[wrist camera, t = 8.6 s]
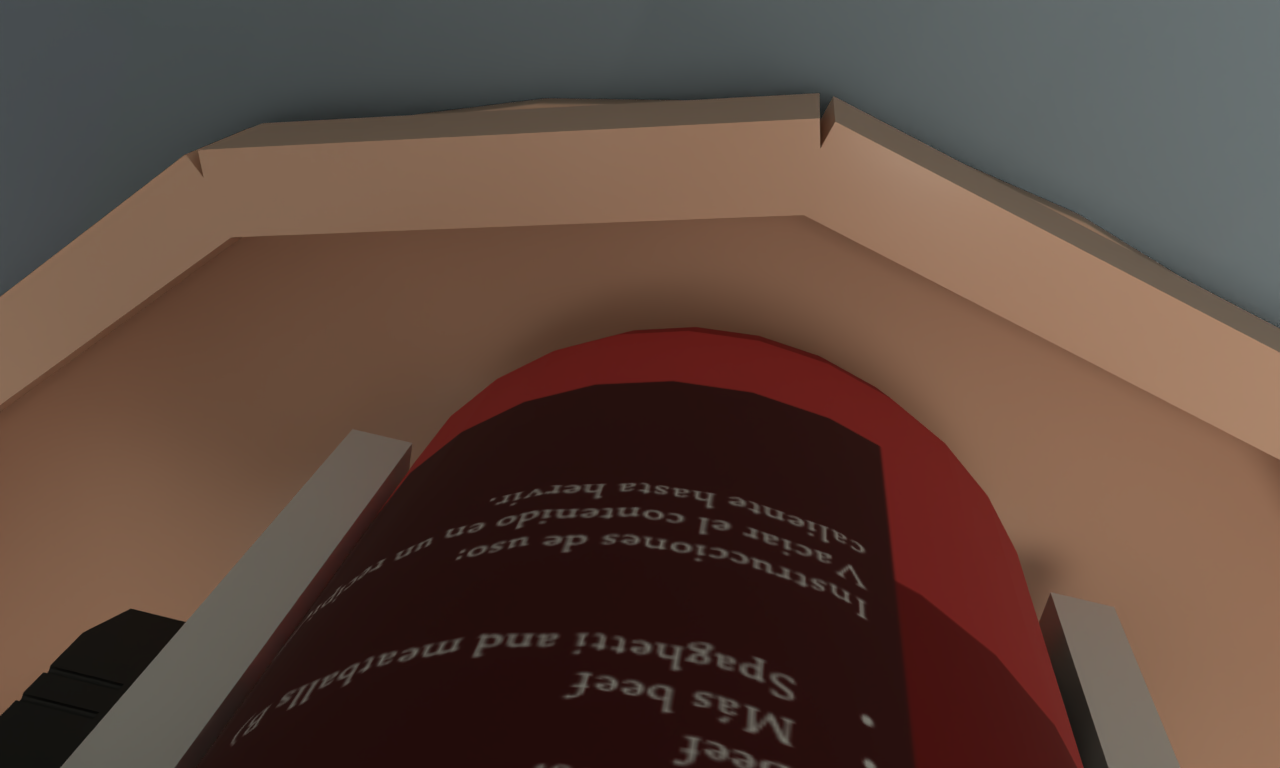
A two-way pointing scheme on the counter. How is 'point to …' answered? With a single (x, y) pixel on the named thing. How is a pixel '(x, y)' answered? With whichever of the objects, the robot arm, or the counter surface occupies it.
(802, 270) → the tray
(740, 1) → the counter surface
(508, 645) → the canned food
